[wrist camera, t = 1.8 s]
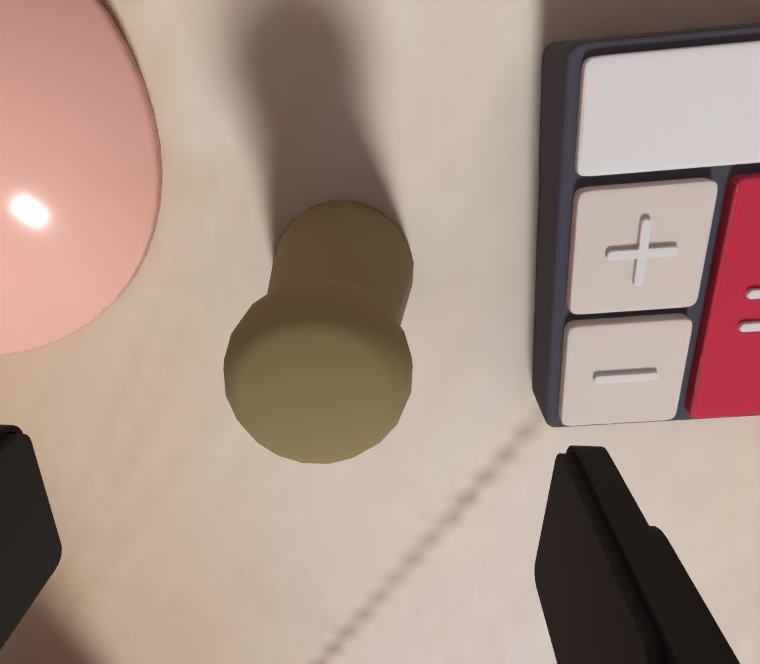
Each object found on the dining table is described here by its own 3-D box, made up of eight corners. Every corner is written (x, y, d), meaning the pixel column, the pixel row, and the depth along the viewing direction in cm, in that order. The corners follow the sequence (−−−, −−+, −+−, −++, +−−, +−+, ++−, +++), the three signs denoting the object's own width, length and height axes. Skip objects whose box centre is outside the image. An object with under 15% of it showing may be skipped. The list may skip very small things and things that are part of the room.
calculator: (549, 440, 24) (575, 41, 17) (527, 385, 27) (540, 43, 21) (819, 425, 23) (957, 5, 16) (757, 371, 27) (849, 13, 20)
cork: (314, 354, 26) (267, 527, 16) (247, 237, 24) (142, 351, 13) (435, 303, 25) (468, 453, 15) (377, 175, 22) (368, 248, 12)
